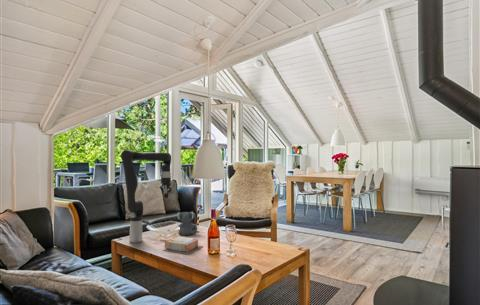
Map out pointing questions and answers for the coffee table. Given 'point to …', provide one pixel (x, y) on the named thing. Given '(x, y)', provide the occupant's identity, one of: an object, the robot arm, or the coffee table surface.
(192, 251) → the mat
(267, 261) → the coffee table surface
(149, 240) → the coffee table surface
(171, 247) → the cracker box
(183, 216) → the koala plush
